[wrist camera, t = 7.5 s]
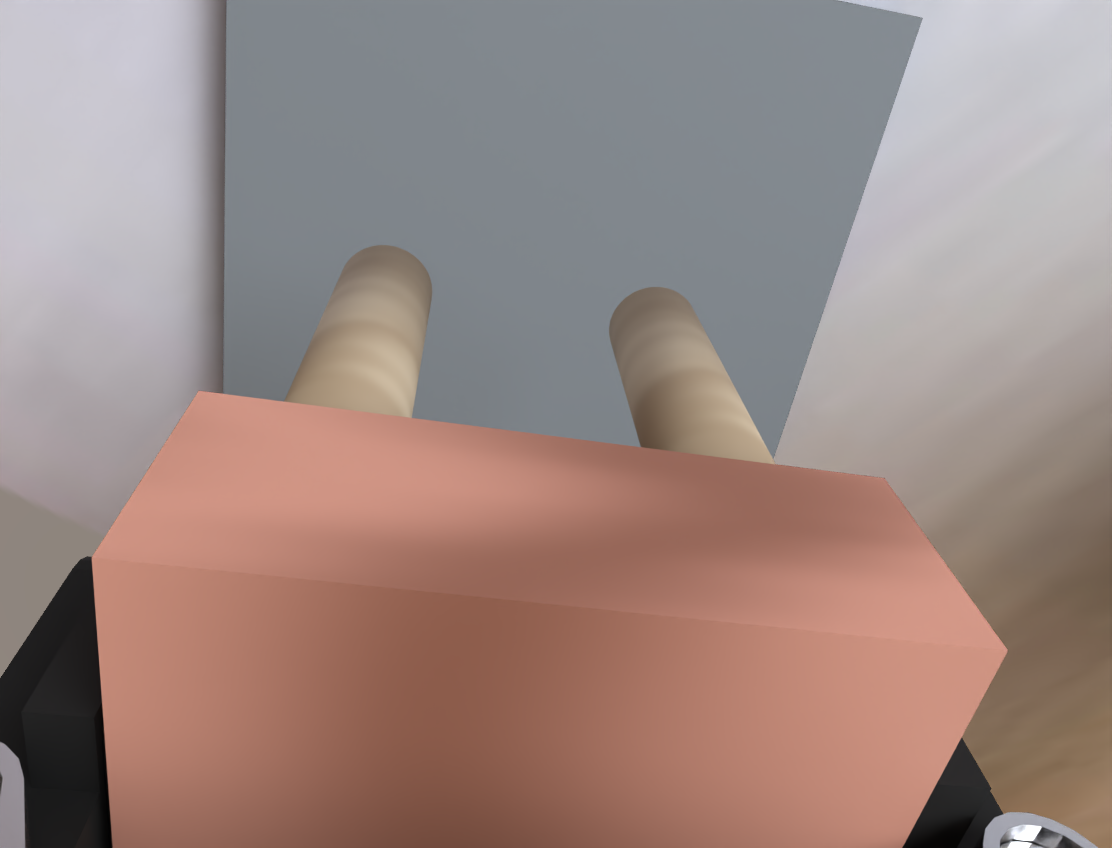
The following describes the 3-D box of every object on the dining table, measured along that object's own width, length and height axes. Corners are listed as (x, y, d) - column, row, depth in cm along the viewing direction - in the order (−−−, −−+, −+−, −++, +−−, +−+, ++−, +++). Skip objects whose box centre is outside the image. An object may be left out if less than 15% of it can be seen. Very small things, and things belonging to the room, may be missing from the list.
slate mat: (904, 13, 20) (922, 17, 19) (731, 538, 26) (739, 559, 25) (241, -121, 18) (227, -124, 17) (233, 474, 24) (222, 494, 24)
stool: (737, 273, 14) (1008, 651, 7) (645, 597, 17) (762, 1107, 10) (316, 207, 13) (92, 557, 6) (296, 560, 16) (131, 1090, 9)
